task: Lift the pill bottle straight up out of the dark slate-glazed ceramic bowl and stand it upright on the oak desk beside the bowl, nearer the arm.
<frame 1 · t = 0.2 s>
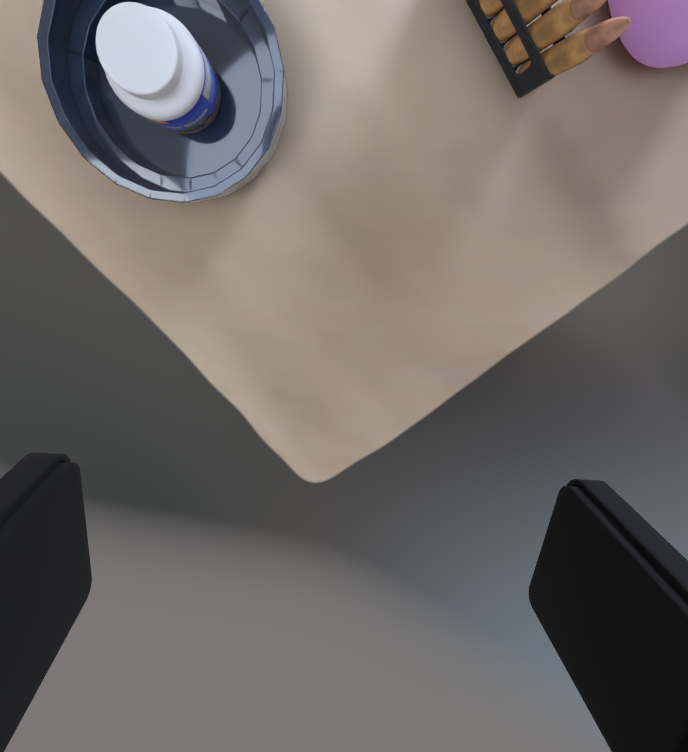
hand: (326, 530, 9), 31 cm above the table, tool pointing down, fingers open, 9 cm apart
bowl: (184, 92, 33), on the table
pill bottle: (183, 91, 33), resting on bowl
ammunition clip: (491, 20, 33), on the table
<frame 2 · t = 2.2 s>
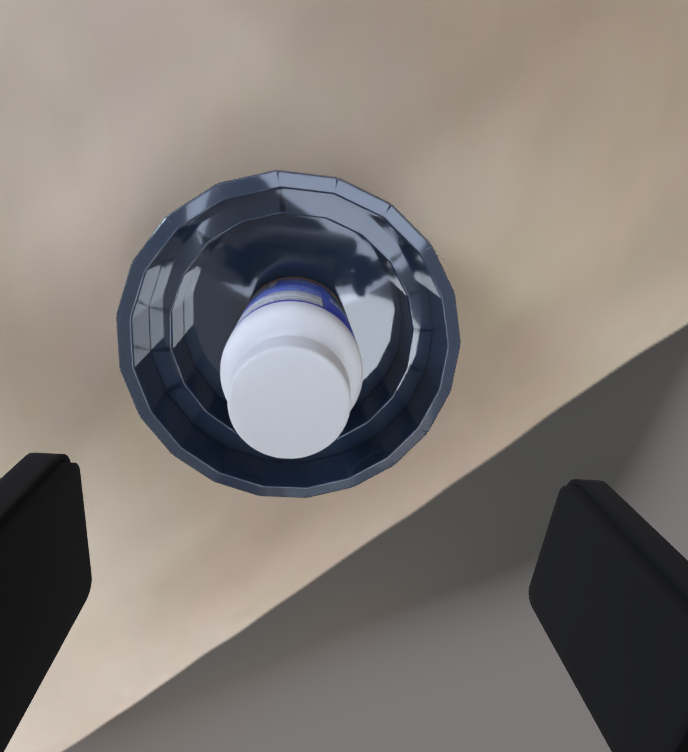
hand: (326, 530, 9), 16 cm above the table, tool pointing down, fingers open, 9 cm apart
bowl: (295, 325, 24), on the table
pill bottle: (295, 326, 24), resting on bowl
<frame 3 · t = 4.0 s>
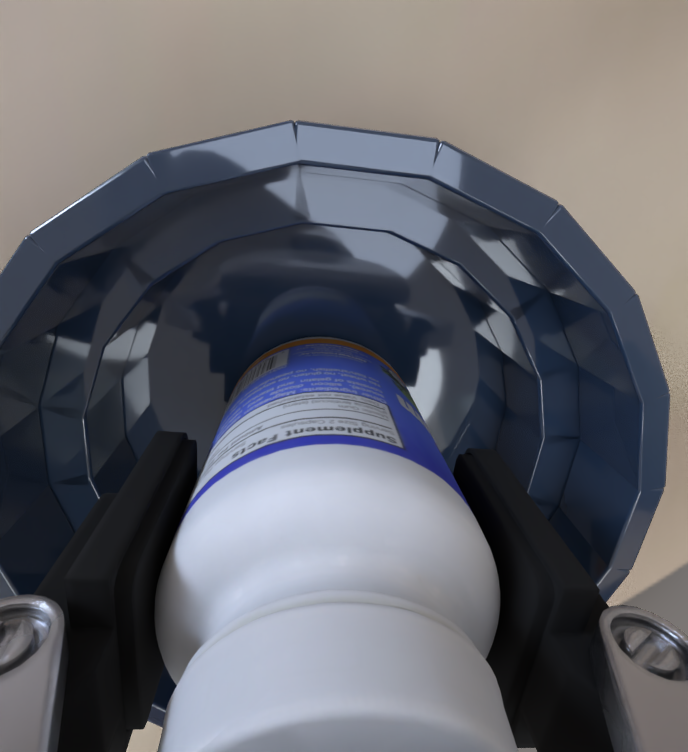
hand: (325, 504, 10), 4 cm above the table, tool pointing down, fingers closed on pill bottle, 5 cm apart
bowl: (319, 413, 14), on the table
pill bottle: (319, 416, 14), resting on bowl, touching gripper
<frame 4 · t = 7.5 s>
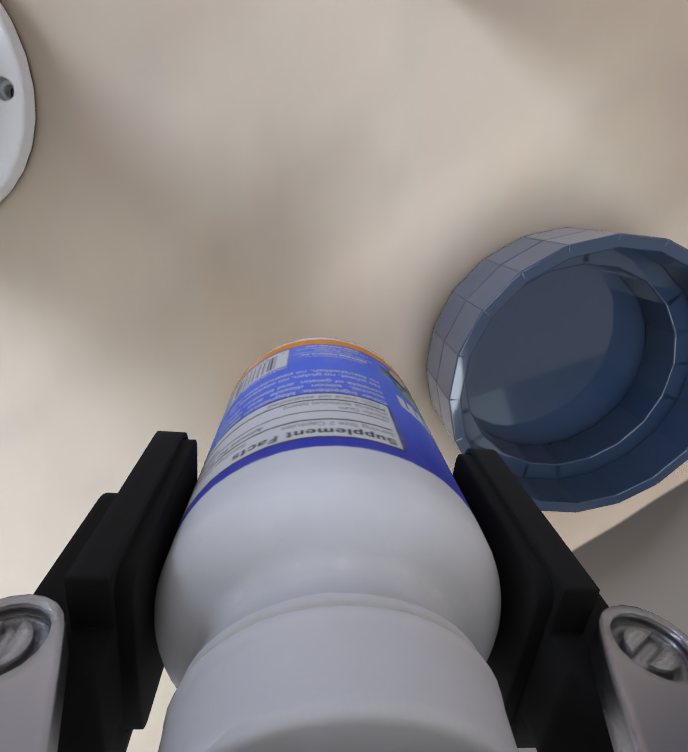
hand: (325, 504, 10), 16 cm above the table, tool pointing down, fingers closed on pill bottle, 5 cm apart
bowl: (546, 356, 27), on the table
pill bottle: (319, 417, 14), point 12 cm above the table, touching gripper
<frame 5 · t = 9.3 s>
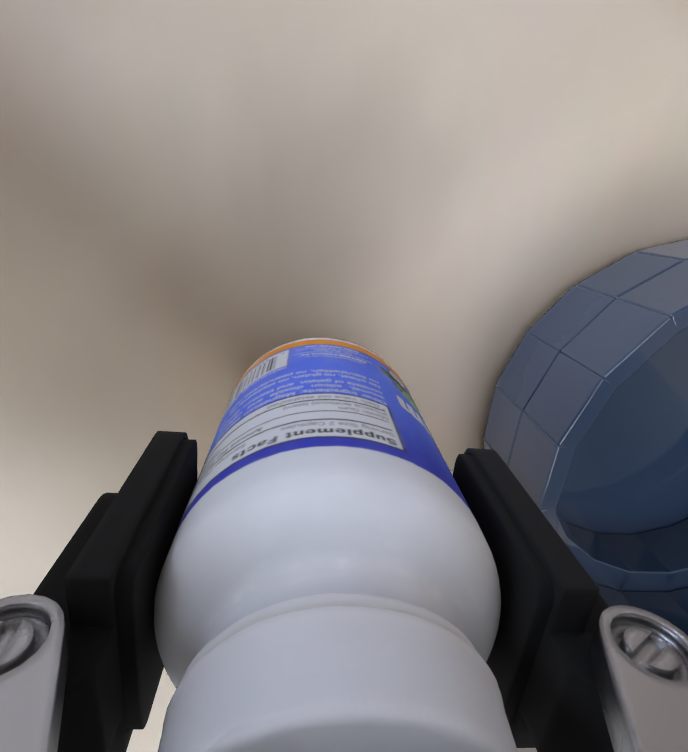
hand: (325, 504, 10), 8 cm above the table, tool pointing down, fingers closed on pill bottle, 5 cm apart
bowl: (650, 417, 19), on the table
pill bottle: (319, 417, 14), point 4 cm above the table, touching gripper
when the fingers open (4 cm above the table, at t = 10.8 s): pill bottle stays where it is, on the table.
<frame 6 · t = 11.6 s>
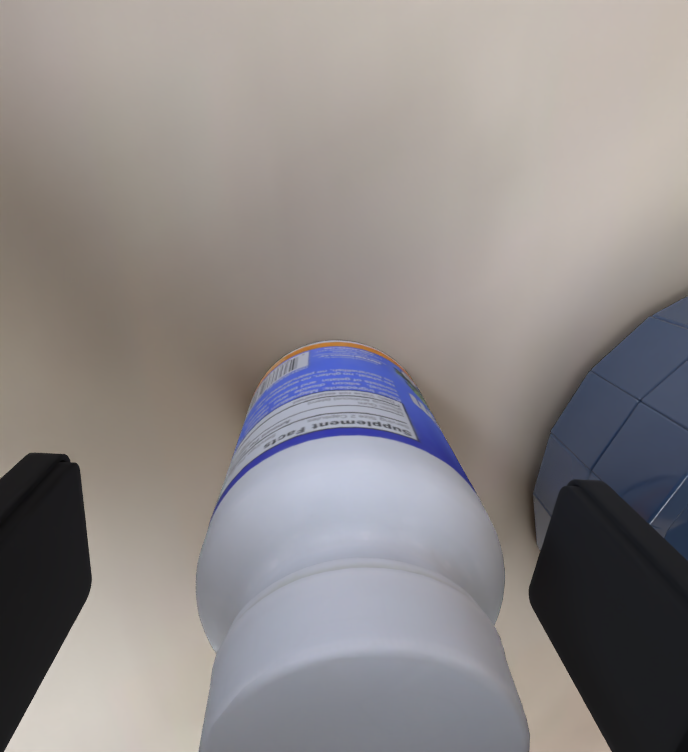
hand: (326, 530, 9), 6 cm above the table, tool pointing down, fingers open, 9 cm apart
pill bottle: (334, 415, 15), on the table
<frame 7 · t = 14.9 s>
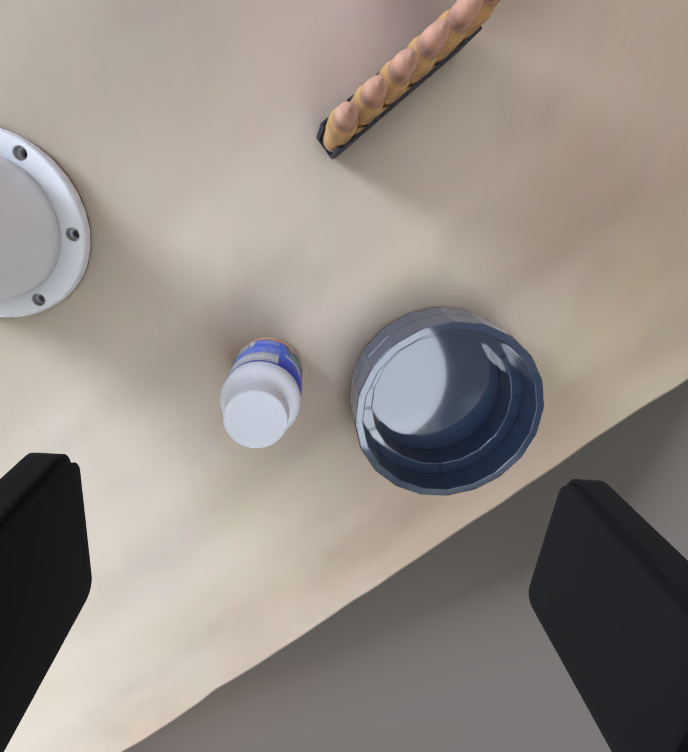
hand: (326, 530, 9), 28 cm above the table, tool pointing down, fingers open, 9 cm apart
bowl: (433, 389, 39), on the table
pill bottle: (268, 366, 38), on the table
ammunition clip: (385, 95, 32), on the table
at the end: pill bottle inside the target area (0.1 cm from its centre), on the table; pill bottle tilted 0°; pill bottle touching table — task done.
